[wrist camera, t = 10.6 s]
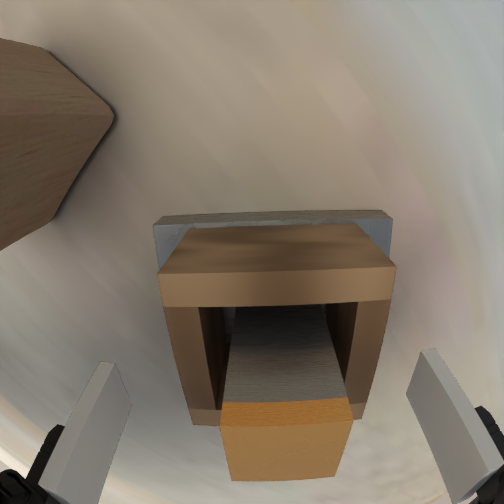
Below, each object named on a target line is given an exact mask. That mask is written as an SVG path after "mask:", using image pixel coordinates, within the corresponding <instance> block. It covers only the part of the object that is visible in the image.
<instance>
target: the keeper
mask: <svg viewBox="0 0 504 504" xmlns="http://www.w3.org/2000/svg"><path fill="white" fill-rule="evenodd" d="M392 222H393V219H392V218H391V217H390V216H388V215H387V214H386V213H384V212H383V211H381V210H331V211H278V212H247V213H222V214H201V215H182V216H165V217H162V218H161V219H160V220H158V221H157V222H156V223H155V224H154V225H153V231H154V238H155V244H156V251H157V257H158V263H159V269H161V268H162V266H163V265H164V263H165V262H166V260H167V259H168V258H169V256H170V255H171V253H172V252H173V251H174V249H175V248H176V246H177V245H178V243H179V242H180V241H181V239H182V238H183V237H184V235H185V234H186V232H187V231H188V230H189V229H192V228H215V227H241V226H271V225H307V224H357V225H358V226H359V227H360V228H361V229H362V230H363V231H364V232H365V233H366V234H367V235H368V236H369V237H370V238H371V239H372V240H373V242H374V243H375V244H376V245H377V246H378V247H379V248H380V249H381V250H382V251H383V252H384V253H385V254H386V256H387V257H388V258H389V252H390V243H391V233H392ZM326 306H327V303H326V304H306V305H281V306H243V307H223V315H224V324H225V333H226V342H227V343H231V346H230V353H229V360H228V367H227V375H226V382H225V389H224V396H223V404H222V411H221V418H220V431H221V436H222V440H223V445H224V450H225V454H226V458H227V463H228V467H229V471H230V476H231V480H232V481H287V480H303V479H315V478H325V477H334V476H335V474H336V471H337V468H338V465H339V463H340V460H341V457H342V454H343V451H344V448H345V445H346V442H347V439H348V436H349V433H350V430H351V427H352V424H353V420H354V419H353V415H352V412H351V408H350V404H349V400H348V397H347V393H346V389H345V386H344V382H343V378H342V375H341V371H340V368H339V364H338V361H337V357H336V354H335V350H334V347H333V343H332V340H331V337H330V333H329V330H328V327H327V323H326V320H325V318H326Z"/></svg>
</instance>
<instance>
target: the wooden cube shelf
mask: <svg viewBox="0 0 504 504" xmlns="http://www.w3.org/2000/svg"><path fill="white" fill-rule="evenodd" d="M395 272H396V265H395V264H394V263H393V262H392V261H391V260H390V259H389V258H388V257H387V256H386V254H385V253H384V252H383V251H382V250H381V249H380V248H379V247H378V246H377V245H376V244H375V243H374V242H373V240H372V239H371V238H370V237H369V236H368V235H367V234H366V233H365V232H364V231H363V230H362V229H361V228H360V227H359V226H358V225H357V224H307V225H271V226H241V227H215V228H192V229H189V230H188V231H187V232H186V234H185V235H184V237H183V238H182V239H181V241H180V242H179V243H178V245H177V246H176V248H175V249H174V251H173V252H172V253H171V255H170V256H169V258H168V259H167V260H166V262H165V263H164V265H163V266H162V268H161V269H160V271H159V272H158V273H157V276H158V282H159V287H160V292H161V298H162V303H163V308H164V312H165V317H166V322H167V326H168V331H169V335H170V340H171V344H172V348H173V352H174V356H175V361H176V365H177V369H178V372H179V376H180V380H181V384H182V388H183V391H184V395H185V398H186V402H187V405H188V409H189V412H190V416H191V419H192V422H193V425H208V426H220V418H221V411H222V404H223V396H224V389H225V382H226V375H227V367H228V360H229V353H230V346H231V343H227V342H226V333H225V324H224V315H223V307H243V306H281V305H306V304H326V303H327V306H326V318H325V320H326V323H327V327H328V330H329V333H330V337H331V340H332V343H333V347H334V350H335V354H336V357H337V361H338V364H339V368H340V371H341V375H342V378H343V382H344V386H345V389H346V393H347V397H348V400H349V404H350V408H351V412H352V415H353V419H354V420H356V419H362V415H363V412H364V409H365V406H366V403H367V399H368V396H369V392H370V389H371V385H372V382H373V378H374V374H375V371H376V367H377V363H378V359H379V355H380V350H381V346H382V342H383V337H384V333H385V328H386V323H387V318H388V313H389V308H390V303H391V297H392V291H393V285H394V279H395Z"/></svg>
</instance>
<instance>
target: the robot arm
mask: <svg viewBox="0 0 504 504" xmlns="http://www.w3.org/2000/svg"><path fill="white" fill-rule="evenodd" d="M406 395H407V397H408V399H409V401H410V404H411V406H412V408H413V410H414V412H415V414H416V417H417V419H418V421H419V423H420V425H421V428H422V430H423V432H424V434H425V437H426V439H427V441H428V444H429V446H430V448H431V451H432V453H433V455H434V458H435V460H436V463H437V465H438V468H439V470H440V472H441V475H442V478H443V480H444V483H445V485H446V488H447V490H448V493H449V496H450V498H451V501H452V504H457V503H460V502H462V501H464V500H466V499H468V498H470V497H471V496H472V495H473V494H474V493H475V492H476V493H477V495H478V496H477V497H476V498H475V499H474V500H473V501H472V502H470V503H469V504H504V435H503V434H502V432H501V431H500V429H499V427H498V425H497V424H495V420H494V419H493V417H492V415H491V414H490V412H488V411H487V410H486V409H485V408H483V407H482V406H479V407H477V408H474V407H473V405H472V404H471V402H470V401H469V399H468V397H467V396H466V394H465V393H464V391H463V389H462V388H461V386H460V385H459V383H458V382H457V380H456V378H455V377H454V375H453V374H452V372H451V371H450V369H449V368H448V366H447V365H446V363H445V362H444V360H443V359H442V357H441V356H440V354H439V353H438V352H437V350H436V349H435V348H433V349H428V350H423V351H421V353H420V356H419V359H418V362H417V365H416V368H415V370H414V373H413V376H412V379H411V381H410V384H409V387H408V389H407V392H406ZM131 407H132V403H131V401H130V399H129V396H128V394H127V392H126V389H125V387H124V384H123V382H122V380H121V377H120V375H119V372H118V370H117V367H116V364H115V363H108V362H100V363H99V365H98V366H97V368H96V370H95V372H94V374H93V375H92V377H91V379H90V381H89V383H88V384H87V386H86V388H85V390H84V392H83V393H82V395H81V397H80V399H79V401H78V403H77V405H76V407H75V408H74V410H73V412H72V414H71V416H70V418H69V420H68V422H67V424H66V426H62V425H58V424H57V425H56V426H55V427H54V428H53V429H52V430H51V431H50V432H49V433H48V435H47V437H46V439H45V441H44V444H43V445H42V447H41V449H40V452H39V453H38V455H37V457H36V459H35V461H34V463H33V465H32V467H31V469H30V471H29V473H28V475H27V477H26V479H24V478H23V477H22V476H21V475H20V474H19V473H18V472H17V471H15V470H12V469H8V470H4V471H2V472H1V473H0V504H98V502H99V499H100V495H101V492H102V489H103V486H104V483H105V480H106V477H107V474H108V471H109V468H110V465H111V462H112V459H113V457H114V454H115V451H116V448H117V445H118V442H119V440H120V437H121V434H122V431H123V429H124V426H125V423H126V420H127V418H128V415H129V412H130V410H131Z"/></svg>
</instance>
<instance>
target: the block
mask: <svg viewBox="0 0 504 504" xmlns="http://www.w3.org/2000/svg"><path fill="white" fill-rule="evenodd" d="M113 119H114V115H113V113H112V111H111V109H110V107H109V105H107V104H106V103H105V102H104V101H103V100H102V99H101V98H100V97H98V96H97V95H96V94H95V93H94V92H93V91H92V90H90V89H89V88H88V87H87V86H86V85H85V84H84V83H83V82H81V81H80V80H79V79H78V78H77V77H76V76H75V75H73V74H72V73H71V72H70V71H69V70H68V69H66V68H65V67H64V66H63V65H62V64H61V63H60V62H58V61H57V60H56V59H55V58H54V57H53V56H52V55H50V54H49V53H48V52H47V51H46V50H45V49H43V48H40V47H37V46H33V45H28V44H24V43H20V42H15V41H11V40H6V39H1V38H0V251H1V250H2V249H4V248H6V247H7V246H9V245H11V244H12V243H14V242H16V241H18V240H19V239H21V238H23V237H24V236H26V235H28V234H30V233H32V232H33V231H35V230H37V229H39V228H41V227H42V226H44V225H46V224H47V223H49V222H50V221H51V220H52V218H53V217H54V215H55V213H56V211H57V209H58V207H59V205H60V204H61V202H62V200H63V198H64V197H65V195H66V193H67V191H68V190H69V188H70V186H71V185H72V183H73V181H74V180H75V178H76V176H77V175H78V173H79V171H80V170H81V168H82V167H83V165H84V164H85V162H86V160H87V159H88V157H89V156H90V154H91V153H92V151H93V150H94V148H95V147H96V145H97V144H98V143H99V141H100V140H101V138H102V137H103V135H104V134H105V133H106V131H107V130H108V128H109V127H110V126H111V124H112V121H113Z"/></svg>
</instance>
